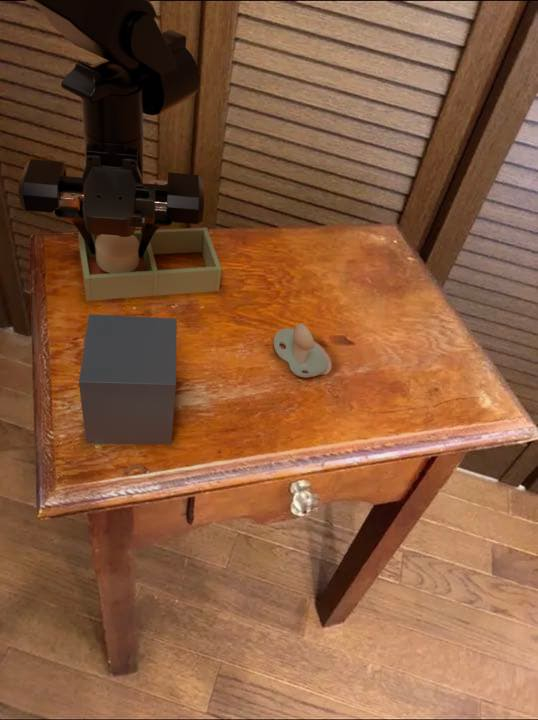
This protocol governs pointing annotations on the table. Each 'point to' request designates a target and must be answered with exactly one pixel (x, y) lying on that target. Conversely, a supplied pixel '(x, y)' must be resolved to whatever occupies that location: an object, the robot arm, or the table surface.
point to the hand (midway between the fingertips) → (117, 253)
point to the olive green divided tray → (155, 268)
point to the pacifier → (302, 352)
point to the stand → (128, 379)
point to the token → (117, 253)
